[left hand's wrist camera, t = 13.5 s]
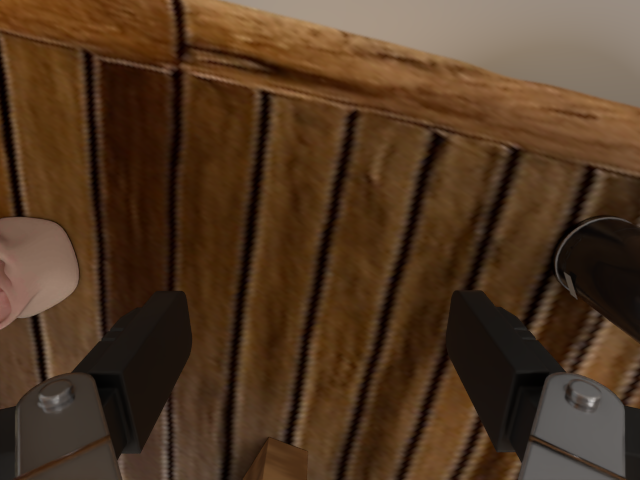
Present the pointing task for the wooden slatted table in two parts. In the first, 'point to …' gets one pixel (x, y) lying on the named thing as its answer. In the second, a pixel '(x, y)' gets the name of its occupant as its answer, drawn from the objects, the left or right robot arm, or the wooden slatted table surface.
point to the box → (278, 462)
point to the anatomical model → (34, 267)
